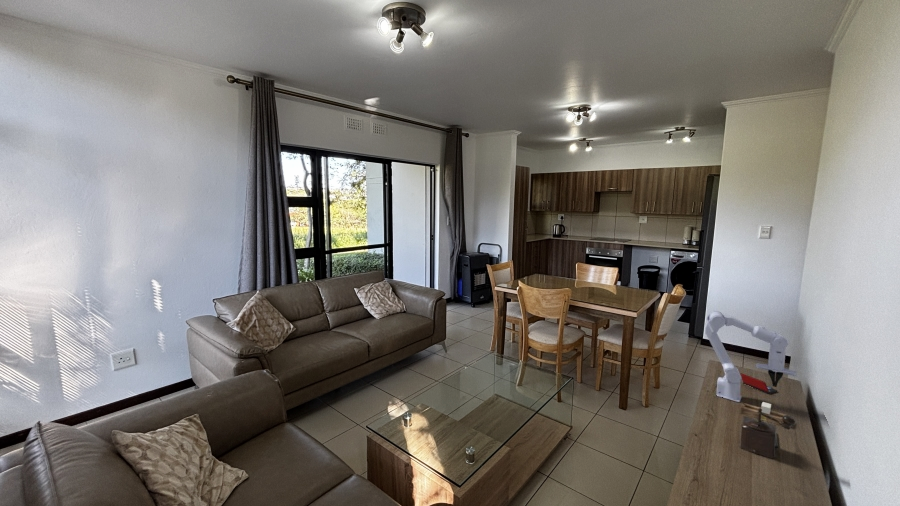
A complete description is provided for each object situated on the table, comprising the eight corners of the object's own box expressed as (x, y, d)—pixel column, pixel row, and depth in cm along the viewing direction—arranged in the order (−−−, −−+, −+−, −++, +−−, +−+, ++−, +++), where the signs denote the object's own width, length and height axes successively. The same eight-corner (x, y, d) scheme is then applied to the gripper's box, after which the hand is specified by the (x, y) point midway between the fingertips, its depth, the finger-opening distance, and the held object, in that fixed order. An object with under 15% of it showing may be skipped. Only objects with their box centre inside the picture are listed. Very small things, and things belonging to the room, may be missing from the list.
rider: (760, 416, 165) (761, 405, 164) (761, 412, 168) (762, 401, 168) (769, 418, 163) (770, 408, 162) (770, 414, 166) (771, 404, 166)
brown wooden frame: (740, 413, 170) (741, 407, 169) (742, 408, 174) (743, 402, 174) (787, 427, 158) (787, 421, 158) (788, 421, 163) (788, 415, 162)
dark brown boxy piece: (739, 448, 144) (741, 406, 143) (741, 436, 152) (744, 395, 151) (792, 466, 134) (796, 420, 132) (792, 452, 142) (795, 408, 140)
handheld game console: (778, 392, 189) (779, 379, 189) (764, 396, 186) (765, 382, 185) (752, 382, 201) (752, 369, 201) (738, 385, 198) (739, 372, 197)
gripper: (756, 357, 176) (754, 383, 178) (797, 365, 166) (794, 393, 167) (757, 353, 181) (756, 379, 183) (797, 361, 171) (795, 388, 172)
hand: (774, 386), depth 175 cm, fingers closed
